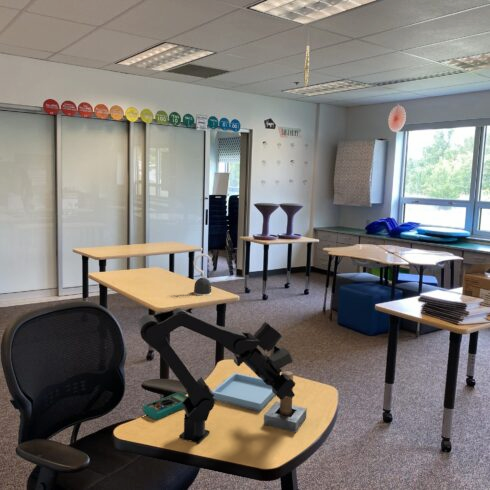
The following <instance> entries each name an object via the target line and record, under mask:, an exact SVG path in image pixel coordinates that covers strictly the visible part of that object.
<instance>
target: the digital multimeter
mask: <svg viewBox="0 0 490 490" xmlns="http://www.w3.org/2000/svg"><path fill="white" fill-rule="evenodd" d="M187 397H188V395H186V394H184V393H182V392H179V391H178V392H175V393H172V394H170V395H168V396H165V397H163V398H160V399H158V400H155V401H151V402H149V403H146V404H145V405H143V407H142V412H143V414H145V415H146V416H147V415H148V416H147V417H149V418H151V419H152V420H153V419H154V420H157V419H158V420H159V419H162V418H164V417H166V416H169V415H171V414H173V413H176V412H178V411H180V410H184V409H183V407H182V404H181V403H182V402H183V401H184V400H185V399H186V398H187Z"/></svg>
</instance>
